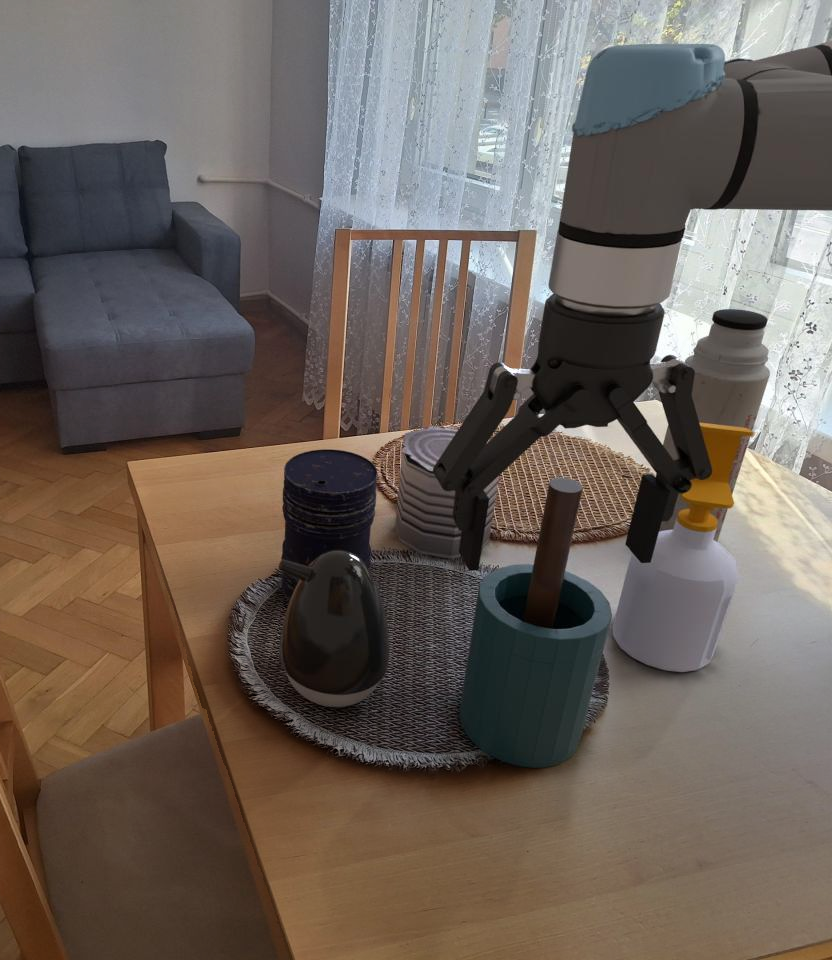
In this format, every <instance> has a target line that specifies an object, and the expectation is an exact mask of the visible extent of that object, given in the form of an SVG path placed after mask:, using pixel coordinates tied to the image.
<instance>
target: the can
mask: <svg viewBox="0 0 832 960" xmlns="http://www.w3.org/2000/svg"><path fill="white" fill-rule="evenodd" d="M457 431H458V429H457V428H450V427H444V426H438V425H431V426H427V427H425V428H420V429H417V430H412V431H408V432H405V433H404V437H403V443H402V449H401V458H400V468H399V469H400V470H399V482H398V491H397V499H396V501H397V502H396V511H395V521H394V526H395V531H396V535H397V538H398V541H399V542H400V543H401V544H403V545H405V546H407V547H408V548H410V549H412V550H414V551H415V552H417V553H418V554H420V555H422V556H423V555H424V556H429V557H436V558H441V559H447V560H454V559H458V558H460V559H461V558H462V557H461V555H460V553H459V546H460V539H461V532H462V531H459V529H458V527H457V526H456V524H455V522H454V520H453V517H452V514H453V506H454V499H455V491H453V490H452V491H445V490H443V488H442V487H441V485H440V483H439V482H438V480H437V478H436V476H435V475H434V473H433V468H434V466H435V464H436V463H437V461H438V460H439V458H440V457H441V455H442V454H443V452H444V451H445V449H446V448H447V446H448V445H449V443H450V442H451V440H452V439H453V437H454V436H455V434H456V433H457ZM488 442H489V441H488ZM488 442H487V443H488ZM487 443H486V444H487ZM499 480H500V475H499V476H498V477H497V478H496V479H495V480H494V481H493V482H492V483H490V484H489V485H488V486H487V487H486V488H485V489H484V492H485V493H486V495H487V496H488V498H489V505H488V511H487V518H486V524H485V531H484V537H483V544H482V549H483V548H485V546H486V545H487V544H488V543H489V542H490V537H491V531H492V525H493V519H494V512H495V506H496V500H497V495H498V488H499Z"/></svg>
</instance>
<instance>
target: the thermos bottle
mask: <svg viewBox="0 0 832 960" xmlns="http://www.w3.org/2000/svg"><path fill="white" fill-rule="evenodd" d="M711 321H712V322H713V323H712V324H711V326H710V329H709V332H708V335H706V336H703V337H701V338H699V339H698V340H697V342H696V345H695V347H694V348H693V349H692V351H693V354H692V355H690V356H688V357H687V358H685V359H684V362H685V363H686V364H687V365H689V366H690V367H692V368H693V369H694V371H695V376H694V383H693V390H692V398H693V402H694V406H695V409H696V413H697V416H698V420H699V423H708V424H717V425H726V426H735V427H744V428H748V429H749V430H751V431H753V430H754V427H755V425H756V422H757V421H756V420H757V417H758V414H759V410H760V408H761V405H762V401H763V399H764V396H765V392H766V389H767V385H768V382H769V379H770V376H771V372H770V371H771V370H770V369H769V368H768V367H767V366H766V363H767V362H768V361H769V357H768V356H769V349H768V346H766V345H764V343H763V339H764V336H765V327H766V326H767V324H768V321H769V319H768V318H767V316H765V315H764V314H761V313H758V312H755V311H751V310H747V309H746V310H745V309H737V308H723V309H718V310H715V311H714V312H713V314H712V317H711ZM751 438H752V437H751V436H742V437H741V440H740V443H739V446H738V449H737V453H736V456H735V459H734V462H733V466H732V469H731V472H730V477H729V487H730V491H731V494H732V495H733V494H734V490H735V487H736V484H737V481H738V478H739V474H740V471H741V468H742V465H743V462H744V459H745V456H746V452H747V449H748V447H749V442H750V440H751ZM662 442H663V443H662V445H663V446H664V447H665V449H666V450H667V452H668V453H669V454H670V456H671V457H672V459H673V460H676V459H678V455H677V452H676V449H675V445H674V442H673V439H672V435H671V432H670V429H669V425H668V424H667V427H666V431H665V435H664V439H663V441H662ZM656 474H657V473H656V472H655V475H654V476H655V477H656ZM690 507H691V505H689V504H688V503H687V502H685V501H683V500H682V498H681V494H680V493H679V494H678V497H677V501H676V504H675V508H674V512H673V515H672V517H671V518H670V520H669V521H663V522H661V526H660V530H659V532H660V531H665V530H673V529H674V525H675V522H676V518H677V517H678V513H679V512H680V511H681V510H684V509H690ZM728 509H729V508H728ZM728 509H725V508H718V509H716V510H711V512H710V514H712V515H713V516H715V517H716V518H717V520H718V524H717V529H716V532H715V535H714V538H713V540H715V541H716V542H718V541H719V538H720V536H721V535H720V534H721V531H722V529H723V525H724V523H725V519H726V516H727V513H728Z"/></svg>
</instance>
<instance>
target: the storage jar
mask: <svg viewBox="0 0 832 960" xmlns="http://www.w3.org/2000/svg"><path fill="white" fill-rule="evenodd" d="M377 481H378V469H377V467H376V465H375V464H374V463H373V462H372V461H371V460H370V459H368V458H367V457H365V456H363V455H360V454H358V453H354V452H351V451H346V450H340V449H331V448H330V449H329V448H328V449H325V448H324V449H314V450H308V451H303V452H301V453H298V454H297V455H296V454H295V455H294V456H292V457H291V458H289V460H288V461H286V463H285V464H284V468H283V488H282V507H281V508H282V509H281V510H282V517H283V519H284V539H283V542H282V549H281V553H282V554H281V557H280V558H281V559H280V561H281V560H282V559H285V560H288V561H292V562H295V563H299V564H302V565H306V566H309V565H310V564H311V563H312V562H313V561H314V560H315V559H316V558H317V557H318V556H319V555H320V554H322V553H324V552H326V551H329V550H335V549H340V550H346V551H349V552H352V553H354V554H355V555H357V556H358V557H359V558H361V559H362V561H363V562H364V563H365V564H366V566H367V567H368V569H369V571H370V572H371V571H372V569H371V568H372V561H371V557H372V546H371V543H370V542H371V530H372V529H371V528H372V524H373V523H374V520H375V516H376V506H377ZM281 577H282V578H281V590H282V593H283V595H284V597H285V598H286V599H287V600H288V601H289V602H290V599H291V597H292V594H293V592H294V590H295V588H296V586H297V584H298V582H299V580H300V579H298V578H295V577H293V576H291V575H289V574H287V573H285V572H282V571H281Z"/></svg>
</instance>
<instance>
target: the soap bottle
mask: <svg viewBox="0 0 832 960" xmlns="http://www.w3.org/2000/svg"><path fill="white" fill-rule="evenodd" d="M700 427H701V431H702V434H703V438H704V441H705V445H706V449H707V452H708V456H709V459H710V463H711V467H712V474H711V476H710V477H709V478H707V479H705V480H699V479H697V478H695V479H692V480H690V481H691V483H692V487H691V489H690V490H689V491H688V492H686V493H683V494H681V498H682V500H683V501H685V502H687V503H688V504H689V505H691V507H690V509H684V510H681V511H680V512H679V513H678V517H677V518H676V522H675V525H674V529H673V530H665V531H660V532H659V534H658V537H657V541H656V545H655V548H654V552H653V556H652V560H651V563H641V562H640V561H639V560H638V559H637V558H636V557H635V555H634V554H633V553H632V552H631V553H630V557H629V561H628V565H627V569H626V573H625V577H624V580H623V586H622V589H621V592H620V597H619V600H618V604H617V607H616V612H615V616H614V620H613V624H612V636H613V639H614V640H615V641H616V643H617V645H618V646H619V648H620V649H621V650H623V651H624V652H625V653H626V654H627V655H629V656H630V657H631V658H632V659H635V660H636V661H639V662H640V663H643V664H644V665H646V666H649V667H653V668H656V669H658V670H662V671H668V672H678V673H685V672H686V673H687V672H692V671H693V672H694V671H698V670H700V669H702V668H703V667H705V666H707V665H709V664H710V662H711V661H712V659H713V657H714V655H715V652H716V649H717V646H718V643H719V640H720V637H721V634H722V631H723V628H724V625H725V622H726V619H727V616H728V613H729V610H730V607H731V604H732V601H733V598H734V595H735V593H736V589H737V586H738V584H739V580H740V573H739V568H738V564H737V560H736V558H735V557H734V556H733V555H732V554H731V553H730V552H729V551H728V550H727V549H726V548H725V546H723V545H722V544H721V543H719V542H718V541H717V542H716V541H715V540H713V538H714V535H715V532H716V529H717V524H718V520H717V518H716V517H715V516H713V515H712V514H710V512H711V510H716V509H718V508H725V509H732V508H733V507H734V505H735V501H734V497H733V494H731V491H730V487H729V477H730V472H731V469H732V466H733V462H734V459H735V456H736V453H737V449H738V446H739V443H740V440H741V437H742V436H751V437H750V438H752V437H754V435H755V431H753V430H752V431H751V430H749V429H748V428H744V427H735V426H726V425H717V424H708V423H700Z"/></svg>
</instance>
